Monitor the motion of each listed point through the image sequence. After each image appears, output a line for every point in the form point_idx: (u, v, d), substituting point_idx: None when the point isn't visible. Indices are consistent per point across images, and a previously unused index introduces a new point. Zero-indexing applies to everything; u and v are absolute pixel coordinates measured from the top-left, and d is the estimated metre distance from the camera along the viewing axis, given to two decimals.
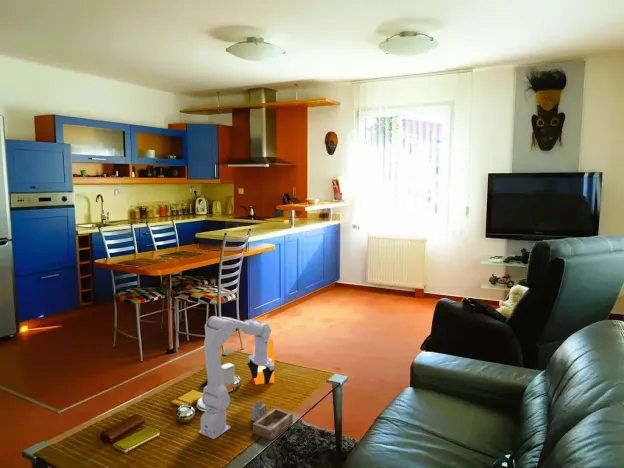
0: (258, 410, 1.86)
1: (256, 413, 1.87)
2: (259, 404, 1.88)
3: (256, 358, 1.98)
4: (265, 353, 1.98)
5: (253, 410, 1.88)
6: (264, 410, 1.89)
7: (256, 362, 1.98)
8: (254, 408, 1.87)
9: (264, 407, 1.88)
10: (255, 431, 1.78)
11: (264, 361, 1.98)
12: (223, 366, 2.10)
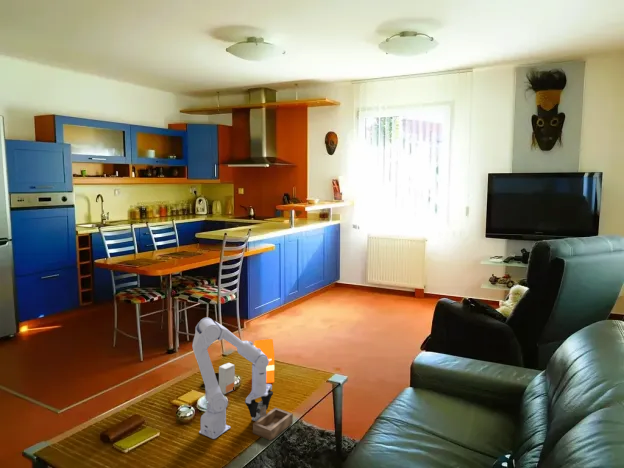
0: (258, 410, 1.86)
1: (256, 413, 1.87)
2: (259, 404, 1.88)
3: None
4: (254, 384, 1.85)
5: None
6: (264, 410, 1.89)
7: None
8: None
9: (264, 407, 1.88)
10: (255, 431, 1.78)
11: (253, 392, 1.85)
12: (223, 366, 2.10)
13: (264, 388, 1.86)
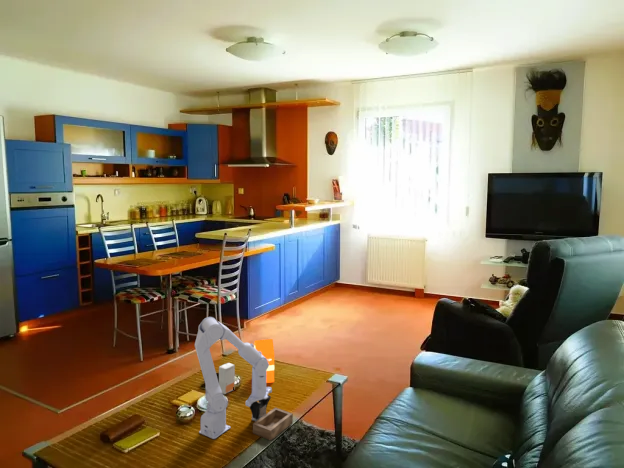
0: None
1: None
2: None
3: None
4: (254, 387, 1.85)
5: None
6: (264, 410, 1.89)
7: None
8: None
9: (264, 407, 1.88)
10: (255, 431, 1.78)
11: (253, 395, 1.86)
12: (223, 366, 2.10)
13: (264, 391, 1.86)
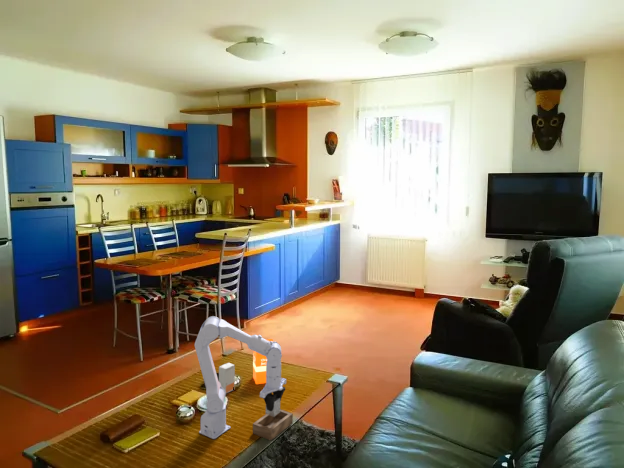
0: None
1: None
2: None
3: None
4: (269, 378, 1.78)
5: None
6: (278, 403, 1.82)
7: None
8: None
9: (278, 400, 1.81)
10: (255, 431, 1.78)
11: (268, 386, 1.79)
12: (223, 366, 2.10)
13: (279, 382, 1.79)
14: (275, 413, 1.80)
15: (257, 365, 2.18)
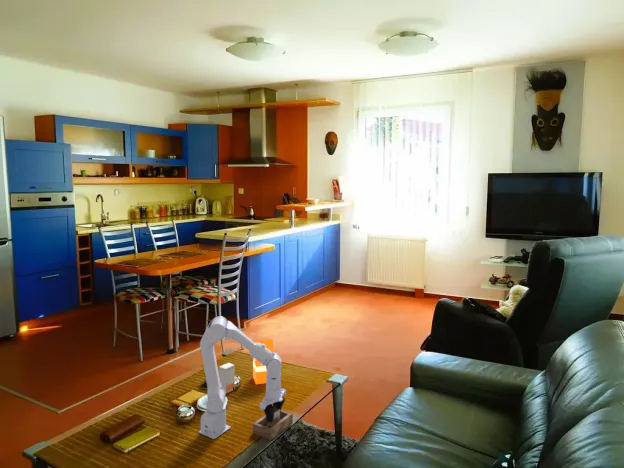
0: None
1: None
2: None
3: None
4: (268, 389, 1.78)
5: None
6: (278, 414, 1.82)
7: None
8: None
9: (278, 411, 1.82)
10: (255, 431, 1.78)
11: (267, 397, 1.79)
12: (223, 366, 2.10)
13: (279, 393, 1.79)
14: None
15: (257, 365, 2.18)
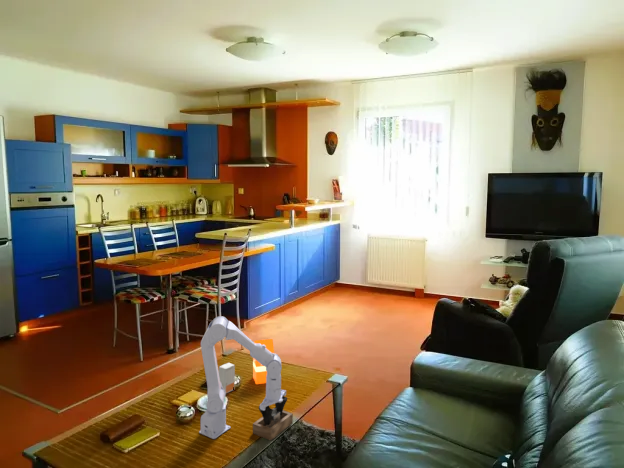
0: (272, 417, 1.80)
1: None
2: (273, 411, 1.82)
3: None
4: (268, 390, 1.78)
5: None
6: (278, 417, 1.82)
7: None
8: None
9: (278, 414, 1.82)
10: (255, 431, 1.78)
11: (267, 398, 1.79)
12: (223, 366, 2.10)
13: (278, 394, 1.79)
14: None
15: (257, 365, 2.18)
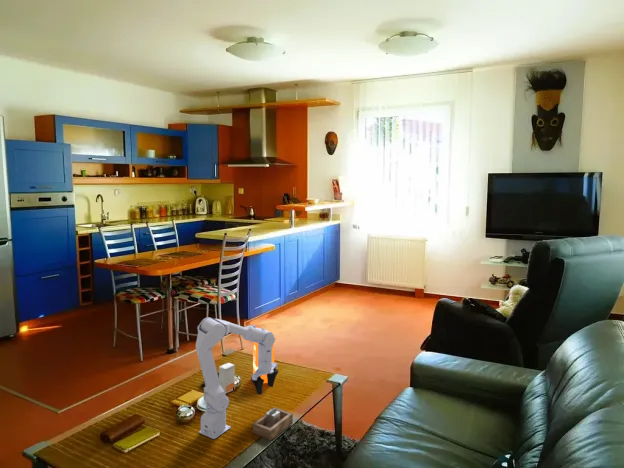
0: (272, 417, 1.80)
1: (270, 420, 1.81)
2: (273, 411, 1.82)
3: None
4: (260, 362, 1.90)
5: (267, 417, 1.82)
6: (278, 417, 1.82)
7: None
8: (268, 415, 1.81)
9: (278, 414, 1.82)
10: (255, 431, 1.78)
11: (259, 369, 1.91)
12: (223, 366, 2.10)
13: (270, 366, 1.91)
14: None
15: (257, 365, 2.18)
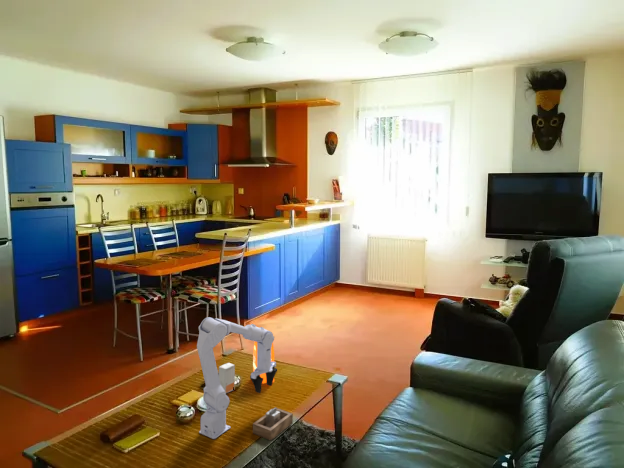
0: (272, 417, 1.80)
1: (270, 420, 1.81)
2: (273, 411, 1.82)
3: None
4: (259, 360, 1.91)
5: (267, 417, 1.82)
6: (278, 417, 1.82)
7: None
8: (268, 415, 1.81)
9: (278, 414, 1.82)
10: (255, 431, 1.78)
11: (258, 368, 1.92)
12: (223, 366, 2.10)
13: (269, 364, 1.92)
14: None
15: None
